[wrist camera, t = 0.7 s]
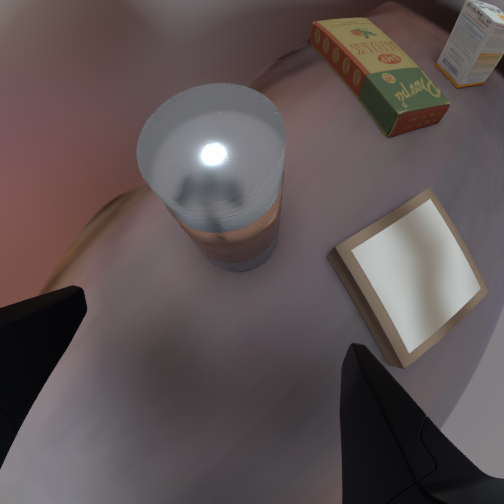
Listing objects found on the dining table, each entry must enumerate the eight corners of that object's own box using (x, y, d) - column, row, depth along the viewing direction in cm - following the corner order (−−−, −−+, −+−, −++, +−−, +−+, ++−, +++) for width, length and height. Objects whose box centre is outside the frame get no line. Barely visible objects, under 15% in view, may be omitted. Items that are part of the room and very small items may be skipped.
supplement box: (463, 62, 29) (495, 4, 16) (483, 85, 27) (521, 28, 15) (432, 64, 28) (465, -5, 15) (455, 89, 27) (496, 21, 14)
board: (388, 364, 20) (405, 369, 17) (326, 256, 23) (335, 246, 20) (468, 296, 21) (489, 291, 18) (414, 201, 23) (430, 186, 20)
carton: (361, 39, 30) (367, 15, 26) (438, 126, 26) (454, 103, 22) (308, 46, 29) (311, 19, 25) (385, 140, 25) (400, 114, 21)
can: (222, 286, 23) (167, 236, 10) (188, 221, 24) (120, 124, 11) (292, 247, 23) (318, 157, 10) (253, 186, 24) (240, 66, 12)
